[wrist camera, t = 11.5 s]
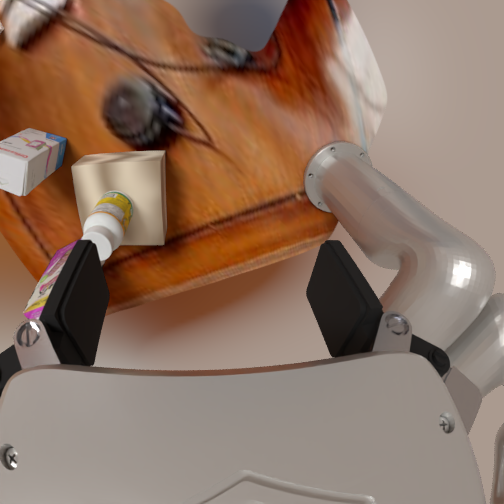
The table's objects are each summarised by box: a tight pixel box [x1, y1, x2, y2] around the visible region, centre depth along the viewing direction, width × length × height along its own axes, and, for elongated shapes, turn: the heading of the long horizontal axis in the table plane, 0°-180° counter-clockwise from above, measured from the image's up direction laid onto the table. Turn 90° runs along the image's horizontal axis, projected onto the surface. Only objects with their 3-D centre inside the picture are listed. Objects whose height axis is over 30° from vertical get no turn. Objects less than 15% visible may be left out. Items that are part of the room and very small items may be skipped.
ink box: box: [0, 128, 67, 196], centre depth 26 cm, size 9×5×12 cm, turn 62°
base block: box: [71, 151, 167, 245], centre depth 36 cm, size 13×13×5 cm
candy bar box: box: [23, 238, 105, 320], centre depth 36 cm, size 11×5×16 cm, turn 106°
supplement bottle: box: [81, 190, 133, 261], centre depth 30 cm, size 5×5×10 cm
